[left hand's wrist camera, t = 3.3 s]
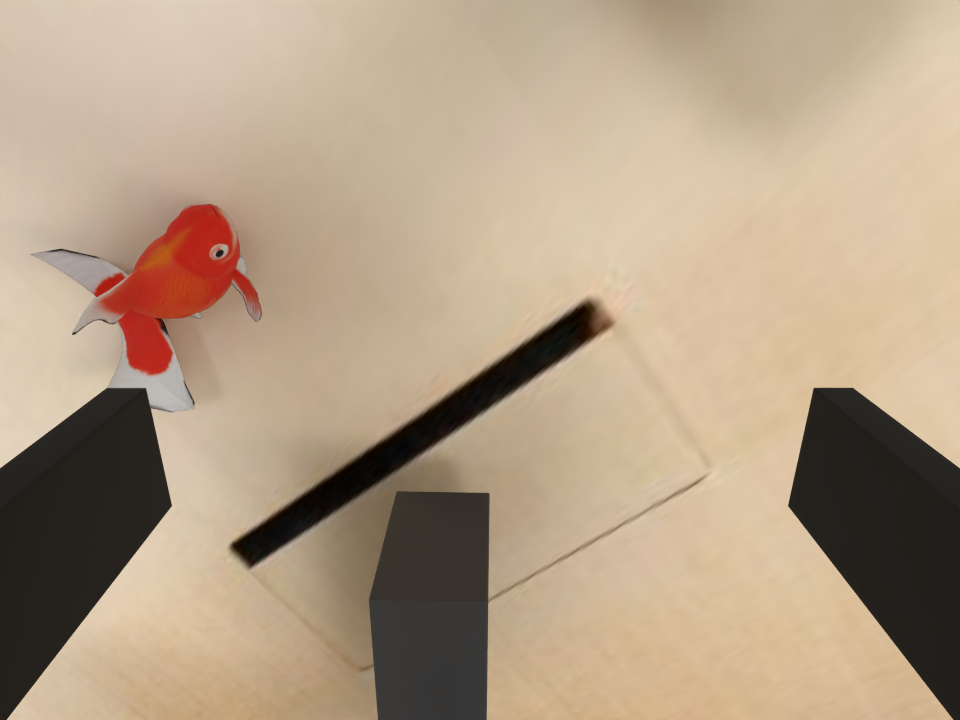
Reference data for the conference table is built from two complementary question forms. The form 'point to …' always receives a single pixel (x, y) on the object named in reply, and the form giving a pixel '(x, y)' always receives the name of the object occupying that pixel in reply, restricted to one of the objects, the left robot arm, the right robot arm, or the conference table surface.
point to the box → (432, 608)
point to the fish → (161, 297)
